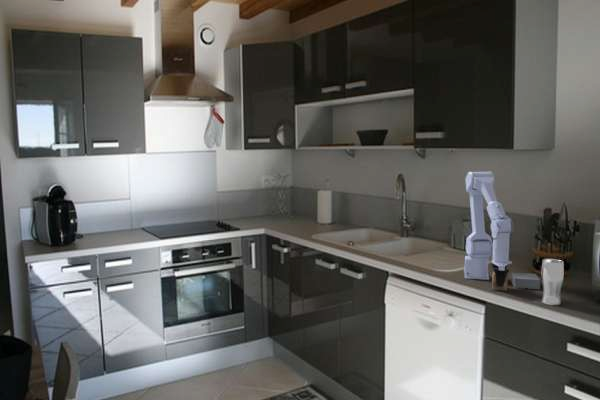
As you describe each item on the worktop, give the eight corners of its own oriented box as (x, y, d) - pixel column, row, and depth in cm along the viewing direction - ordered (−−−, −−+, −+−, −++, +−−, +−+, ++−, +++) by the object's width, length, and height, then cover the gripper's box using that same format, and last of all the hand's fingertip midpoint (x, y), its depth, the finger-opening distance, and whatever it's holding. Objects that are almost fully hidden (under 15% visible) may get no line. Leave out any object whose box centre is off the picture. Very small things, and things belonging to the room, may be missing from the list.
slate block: (514, 288, 198) (514, 278, 198) (510, 282, 207) (511, 272, 207) (539, 290, 196) (540, 279, 196) (534, 283, 205) (535, 274, 205)
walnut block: (492, 289, 195) (493, 274, 195) (492, 286, 200) (492, 271, 199) (506, 290, 194) (507, 275, 193) (505, 287, 199) (506, 272, 198)
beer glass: (564, 302, 180) (566, 260, 179) (558, 307, 175) (561, 264, 173) (543, 298, 185) (545, 257, 183) (537, 303, 180) (539, 261, 178)
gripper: (514, 254, 187) (512, 290, 189) (510, 246, 201) (508, 280, 203) (493, 253, 189) (492, 289, 191) (491, 245, 203) (489, 278, 205)
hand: (499, 284), depth 197 cm, fingers closed on walnut block, 5 cm apart
